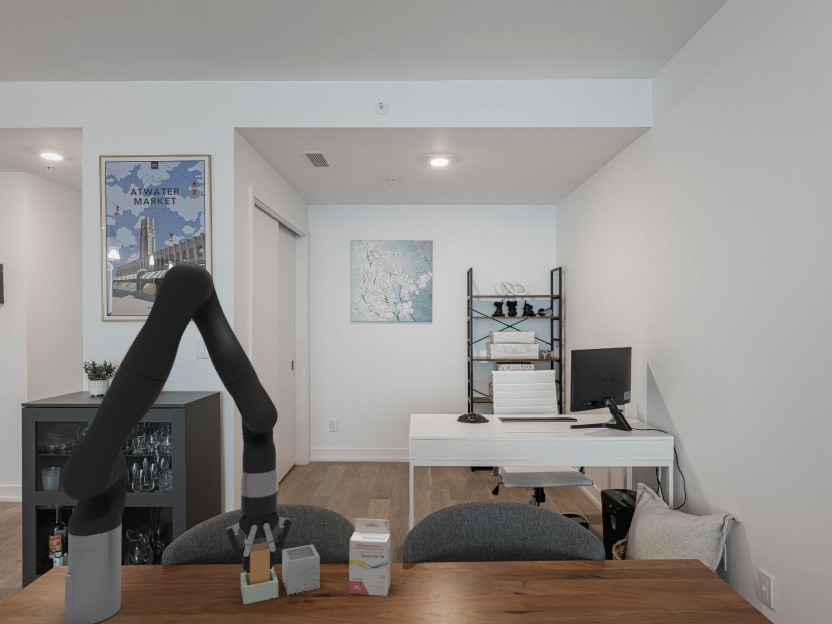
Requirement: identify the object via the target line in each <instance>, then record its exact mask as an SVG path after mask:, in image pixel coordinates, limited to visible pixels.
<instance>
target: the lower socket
mask: <svg viewBox="0 0 832 624" xmlns="http://www.w3.org/2000/svg"><path fill="white" fill-rule="evenodd" d="M240 593H241V597H242V602H243V605H248V604H253V603H257V602H263V601H267V600H272V599H271V598H273V599H277V598H279V580H278V577H277V574H276V571H275V569H274V566H272V569H270V581H268V582H263V583H258V584H253V585H249V583H248V573H246V572H242V573H240ZM276 597H277V598H276Z"/></svg>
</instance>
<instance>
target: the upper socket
mask: <svg viewBox="0 0 832 624" xmlns="http://www.w3.org/2000/svg"><path fill="white" fill-rule="evenodd" d="M281 557H282V560H281V561H282V562H281V563H282V564H281V566H282V567H281V570H282V571H281V576H282V577H281V579H282V580H283V581H282V580H281V581H282V583H284V584H283V586H285V587H284V589H286V590H285V593H286V595H287V596H290V595H289V594H292V595H295V594H294V593H296V594H299V593H298V592H301V593H304V592H303V591H306V592H310V590H311V591H315V590H314V589H316V590H320V589H319V588H321V585H320V584H321V578H320V576H321V572H320V567H321V565H320V564H321V562H320V559H321V558H320V554H319V553H318V551H317V550H316V548H315V546H314V544H313V543H312V544H308V545H307V544H306V545H303V546H301V545H300V546H296V547H290V548H283V549H282V550H281ZM308 590H309V591H308Z"/></svg>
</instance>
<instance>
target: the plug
mask: <svg viewBox="0 0 832 624" xmlns="http://www.w3.org/2000/svg"><path fill="white" fill-rule="evenodd" d="M249 555H250V573H248V583H249V585H253V584H258V583H263V582H268V581H270V549H269V546H268V542H267V541H266V542H261V543H255V544H252V546H251V550H250V553H249Z"/></svg>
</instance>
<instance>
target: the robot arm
mask: <svg viewBox="0 0 832 624" xmlns="http://www.w3.org/2000/svg"><path fill="white" fill-rule="evenodd" d="M163 275H164V276H163V277H162V280H161V282H160V285H159V288H158V291H157V294H156V297H155V299H154V302H153V304H152V306H151V309H150V312H149V314H148V317H147V318H146V320H145V322H144V323H143V325H142V327H141V329H140V330H139V331H138V333H137V335H136V336H135V338H134V339H133V342H132V343H131V345H130V346H129V348H128V350H127V352H126V354H125V355H124V357H123V359H122V360H121V363H119V366H118V368H117V370H116V371H115V374H114V375H113V379H112V380H111V382H110V384H109V387H108V389H107V391H106V393H105V395H104V397H103V399H102V401H101V403H100V405H99V406H98V409H97V411H96V413H95V416H94V417H93V418H92V422H91V423H90V425H89V427H88V429H87V431H86V432H85V434H84V436H83V437H82V439H80V441H79V443H78V445H77V446H76V447H75V449H74V450H73V452H72V454H71V455H70V457H69V458H68V459H67V461H66V463H65V465H64V467H63V469H62V472H61V476H60V484H61V488H62V491H63V492H64V494H66V496H67V497H69V498H70V499H72V500H75V501H77V503H76V506H75V507H74V510H73V511H72V513H71V514H70V516H69V519H68V522H67V523H68V525H67V526H68V531H67V534H68V537H67V539H68V540H67V542H68V543H67V544H68V545H67V547H68V548H67V551H68V553H67V572H66V574H65V576H64V577H65V578H64V581H65V582H64V624H96V623H100V622H103V621H105V620H107V619H109V618H112V617H113V616H114V615H116V614H117V613H118V612H119V611H120V609H121V605H122V603H121V602H122V601H121V600H122V521H123V518H122V517H123V512H124V509H125V507H126V500H127V484H128V466H127V459H126V457H125V455H124V454H123V451H122V448H123V446H124V444H125V443H126V441H127V439H128V438H129V436H130V435H131V433H132V432H133V431H134V430H135V428H136V427H137V426H138V425H139V423H141V421H142V420H143V418H145V417H146V415H147V414H148V413H149V412H150V410H151V408H153V406H154V405H155V403H156V401H157V400H158V399H159V396H161V395H160V394H161V392H162V390H163V389H164V387H165V385H166V383H167V381H168V379H169V378H170V375H171V371H172V369H173V366H174V364H175V362H176V361H175V360H176V358H177V355H178V352H179V351H178V350H179V346H180V344H181V341H182V338H183V335H184V333H185V331H186V329H187V327H188V325H189V324H190V322H191V321H193V322H194V324H195V326H196V328H197V331H199V334H200V335H201V338H202V340H203V343H204V346H205V348H206V350H207V353H208V356H209V358H210V360H211V361H210V362H211V363H212V366H213V367H214V370H215V371H216V374H217V376H218V377H219V379H220V381H221V382H222V383H221V384H222V385H223V387H224V388H225V390H226V391H227V392H228V394H229V395H230V397H231V398H232V399H233V402H234V404H235V405H236V408H237V410H238V412H239V414H240V416H241V432H242V443H243V448H242V475H241V483H240V495H241V496H240V518H239V520H238V522H237V523H235V524H233V525H231V524H229V525H227V526H226V528H225V529H226V533H227V536H228V539H229V541H230V545H231V548H232V549H233V552H234V555H236V556H238V555H240V556H242V570H243V572H245V573H250V555H249V553H250V550H251V546H252V545H254V544H253V543H254V540H257V539H260V538H261V539H264V538H266V542H267V543H268V546H269V549H270V569H272V567H274V566H275V564H276V551H277V550H278V549H279V548H281V549H282V548H283V547H284V546H285V542H286V539H287V538H288V537H287V536H288V533H289V530H290V528H291V524H292V521H291V519H290V518H289V516H284V517H282V516H279V513H278V476H277V474H278V473H277V450H276V445H275V442H274V428H275V425H276V424H277V421H278V417H279V416H278V415H279V414H278V410H277V408H276V406H275V403H274V402H273V401H272V398H271V397H270V395H269V394H268V393H267V391H266V390H265V388H264V386H263V385H262V383H261V381H260V379H259V377H258V374H257V372H256V370H255V368H254V366H253V364H252V362H251V361H250V359H249V357H248V355H247V354H246V351H245V349H244V348H243V346H242V344H241V343H240V341H239V339H238V338H237V336H236V334H235V331H233V329H232V326H231V325H230V323H229V321H228V319H227V317H226V315H225V312H224V310H223V307H222V306H221V302H220V300H219V298H218V297H219V296H218V294H217V289H216V288H215V284H214V283H215V282H214V279H213V276H212V275H211V273H210V272H209V271H208V270H207V269H206V268H205V267H203V266H201V265H199V264H197V263H196V264H195V263H192V262H182V263H181V262H180V263H177V264H174V265H173V266H171V267H170V268H169V269H168V270H167V271H166V272H165V274H163ZM278 523H279V525H278ZM277 525H278V526H279V527H280V529H279V532H278V536H277V540H275V541H274V537H273V534H272V533H273V531H274V529H275V528H276V527H277ZM239 530H241V531H242V532H243V533H244V534H245V538H244V541H243V546H241V545H240V544H239V542H238V539H237V536H238V534H239Z"/></svg>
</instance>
